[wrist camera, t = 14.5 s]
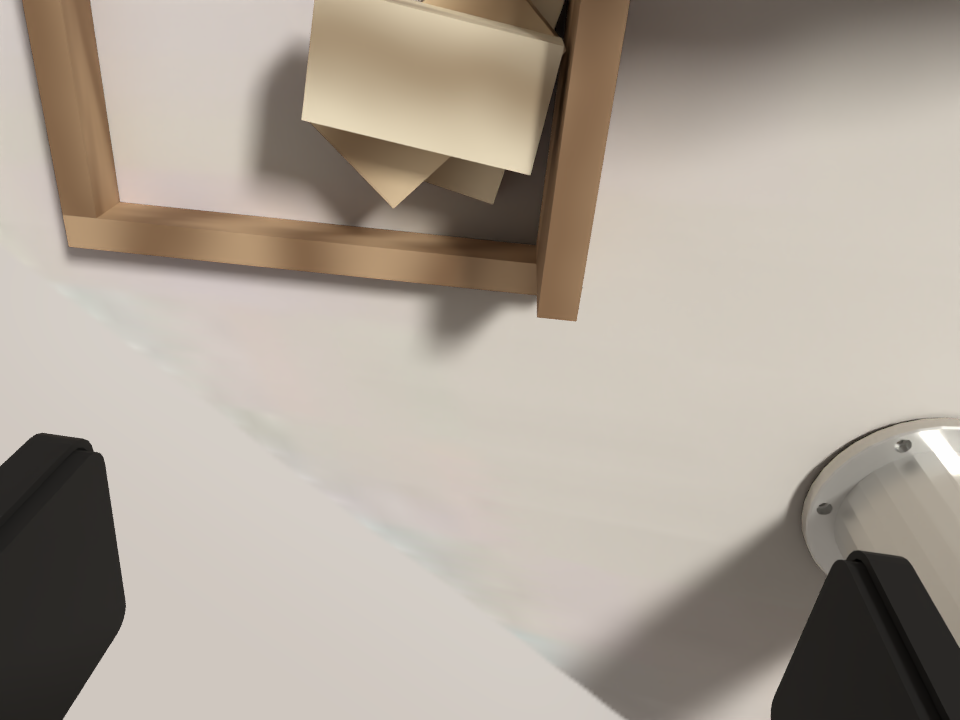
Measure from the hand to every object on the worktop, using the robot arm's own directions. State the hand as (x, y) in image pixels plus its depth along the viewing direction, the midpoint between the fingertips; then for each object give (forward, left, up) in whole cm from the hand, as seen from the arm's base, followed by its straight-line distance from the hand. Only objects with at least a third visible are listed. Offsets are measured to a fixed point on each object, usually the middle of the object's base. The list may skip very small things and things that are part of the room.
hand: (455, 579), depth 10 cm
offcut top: (+3, -2, -25) cm, 25 cm away
